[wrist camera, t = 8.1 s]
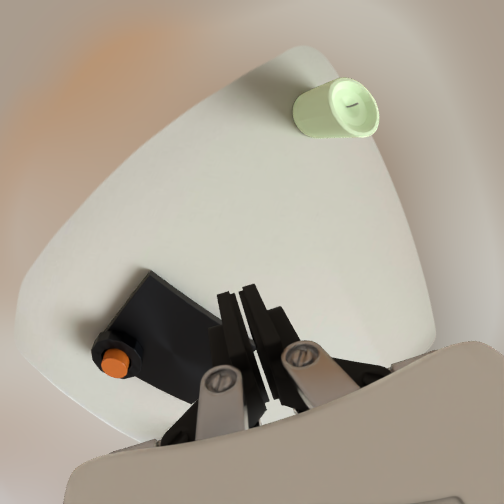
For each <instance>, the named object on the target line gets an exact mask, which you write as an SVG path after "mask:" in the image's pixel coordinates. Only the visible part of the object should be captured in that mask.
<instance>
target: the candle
mask: <svg viewBox="0 0 504 504" xmlns="http://www.w3.org/2000/svg"><path fill="white" fill-rule="evenodd" d="M293 118H294V122H295V124H296V125H297V127H298V129H299V130H300V131H301V132H302V133H304V134H305V135H307V136H309V137H312V138H355V137H368V136H370V135H372V134H373V133H374V132H375V131H376V129H377V128H378V124H379V111H378V107H377V104H376V102H375V100H374V98H373V97H372V95H371V93H370V92H369V91H368V90H367V89H366V88H365V87H364V86H363V85H362V84H360V83H359V82H357V81H355V80H353V79H350V78H346V77H344V78H338V79H335V80H333V81H330V82H328V83H325V84H323V85H321V86H318V87H316V88H314V89H312V90H309V91H307V92H305V93H303V94H301V95H300V96H299V97H298V98H297V99H296V101H295V103H294V106H293Z"/></svg>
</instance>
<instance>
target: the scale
mask: <svg viewBox="0 0 504 504" xmlns="http://www.w3.org/2000/svg"><path fill="white" fill-rule="evenodd" d="M221 324H222V320H220V319H219V318H217V317H216V316H214V315H213V314H211V313H210V312H209V311H207V310H206V309H204V308H203V307H201V306H200V305H198V304H197V303H195V302H194V301H193V300H191V299H190V298H188V297H187V296H185V295H184V294H183V293H181V292H180V291H178V290H177V289H176V288H174V287H173V286H172V285H170V284H169V283H167V282H166V281H165V280H163V279H162V278H161V277H159V276H158V275H157V274H155V273H154V272H153V271H150V272H149V273H148V275H147V276H146V277H145V278H144V280H143V281H142V282H141V283H140V285H139V286H138V287H137V289H136V290H135V291H134V292H133V294H132V295H131V296H130V298H129V299H128V300H127V302H126V303H125V304H124V306H123V307H122V308H121V310H120V311H119V312H118V314H117V315H116V316H115V318H114V319H113V320H112V322H111V323H110V324H109V326H108V327H107V328H106V330H105V331H104V332H102V333H100V334H99V336H98V337H97V339H96V340H95V342H94V345H93V347H92V350H91V351H92V359H93V361H94V363H95V364H96V365H97V367H98V368H99V369H100V370H101V371H102V372H104V371H103V370H102V367H101V363H102V360H103V357H104V353H105V352H106V351H107V350H108V349H111V348H115V349H119V350H121V351H123V352H124V353H126V354H127V356H128V358H129V366H128V371H127V374H126V375H125V376H124V377H122V378H121V379H126V378H130V377H134V376H136V377H137V378H139V379H141V380H143V381H145V382H147V383H148V384H150V385H152V386H154V387H156V388H158V389H160V390H162V391H164V392H166V393H168V394H170V395H172V396H174V397H176V398H179V399H181V400H183V401H185V402H187V403H190V404H192V403H194V402H195V401H196V400H197V399H199V393H200V383H201V380H202V377H203V376H204V374H205V373H206V372H208V371H209V370H210V369H212V368H213V366H212V359H211V351H210V343H209V335H208V328H210V327H214V326H217V325H221ZM249 340H250V344H251V347H252V350H253V352H254V351H255V350H256V347H255V344H254V341H253V340H251V339H250V338H249ZM104 373H105V372H104Z"/></svg>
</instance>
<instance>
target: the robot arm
mask: <svg viewBox="0 0 504 504" xmlns="http://www.w3.org/2000/svg"><path fill="white" fill-rule="evenodd" d="M242 288H243V291H239V295H240V299H241V302H242V305H243V309H244V312H245V315H246V319H247V322H248V325H249V328H250V332H251V335H252V338H253V341H254V344H255V347H256V350H257V353H258V356H259V359H260V362H261V365H262V368H263V370H264V373H265V376H266V379H267V382H268V385H269V388H270V390H271V393H272V396H273V399H274V400H275V399H279V400H280V402H281V405H284V406H288V407H291V408H293V410H294V413H295V414H296V415H293V416H290V417H287V418H284V419H281V420H278V421H275V422H272V423H268V424H265V425H262V423H261V420H260V418H261V417H262V415H263V414H264V412H265V411H266V410H267V409H266V406H265V403H266V402H269V398H268V395H267V392H266V389H265V386H264V383H263V380H262V377H261V374H260V371H259V368H258V365H257V362H256V359H255V356H254V353H253V350H252V347H251V344H250V340H249V337H248V334H247V331H246V328H245V325H244V322H243V318H242V315H241V312H240V309H239V306H238V302H237V299H236V296H235V293H233V294H230V293H229V291H228V292H225V293H221V294H218V295H217V299H218V304H219V309H220V314H221V319H222V324H221V325H217V326H214V327H210V328H208V335H209V343H210V351H211V359H212V366H213V368H212V369H210V370H209V371H208V372H206V373H205V374H204V376H203V377H202V380H201V383H200V393H199V399H198V400H197V401H196V402H195V403H194V404H193V405H192V406H191V407H190V408H189V409H188V410H187V411H186V412H185V413H184V415H183V416H182V417H181V418H180V419H179V420H178V421H177V422H176V423H175V424H174V425H173V426H172V427H171V428H170V429H169V430H168V431H167V432H166V433H165V434H164V436H163V437H162V440H159V441H157V440H156V439H153V440H150V441H147V442H144V443H140V444H137V445H134V446H131V447H128V448H124V449H120V450H117V451H113V452H111V453H109V454H107V455H104V456H100V457H97V458H95V459H92V460H90V461H87V462H85V463H83V464H82V465H80V466H78V467H77V468H76V469H75V470H74V471H73V473H72V474H71V476H70V478H69V481H68V484H67V487H66V492H65V496H64V501H63V504H504V356H503V355H502V354H501V353H499V352H498V351H496V350H495V349H493V348H492V347H490V346H488V345H487V344H484V343H481V342H477V341H468V342H462V343H458V344H453V345H450V346H447V347H444V348H442V349H439V350H434V351H430V352H428V353H425V354H422V355H419V356H416V357H413V358H410V359H407V360H404V361H400V362H397V363H394V364H391V367H390V368H385V367H382V366H378V365H372V364H366V363H360V362H354V361H348V360H343V359H337V358H332V357H330V356H329V355H328V353H327V352H326V351H325V350H324V349H323V348H322V347H321V346H320V345H318V344H317V343H315V342H312V341H306V340H304V341H300V339H299V337H298V335H297V334H296V332H295V330H294V328H293V326H292V325H291V323H290V321H289V319H288V317H287V316H286V314H285V312H284V310H283V309H282V307H281V306H279V307H276V308H273V309H270V310H266V307H265V305H264V303H263V301H262V299H261V297H260V294H259V292H258V290H257V288H256V286H255V284H251V285H248V286H245V287H242Z"/></svg>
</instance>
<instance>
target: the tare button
mask: <svg viewBox="0 0 504 504" xmlns="http://www.w3.org/2000/svg"><path fill="white" fill-rule="evenodd" d="M128 366H129V358H128V356H127V354H126V353H124V352H123V351H121V350H119V349H115V348H111V349H108V350H107V351H106V352H105V353H104V357H103V360H102V363H101V367H102V370H103V371H104V372H105V373H106V374H107V375H109V376H111V377H114V378H122V377H124V376H125V375H126V374H127V371H128Z"/></svg>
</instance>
